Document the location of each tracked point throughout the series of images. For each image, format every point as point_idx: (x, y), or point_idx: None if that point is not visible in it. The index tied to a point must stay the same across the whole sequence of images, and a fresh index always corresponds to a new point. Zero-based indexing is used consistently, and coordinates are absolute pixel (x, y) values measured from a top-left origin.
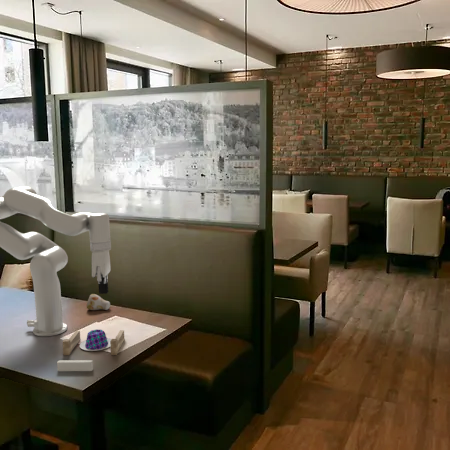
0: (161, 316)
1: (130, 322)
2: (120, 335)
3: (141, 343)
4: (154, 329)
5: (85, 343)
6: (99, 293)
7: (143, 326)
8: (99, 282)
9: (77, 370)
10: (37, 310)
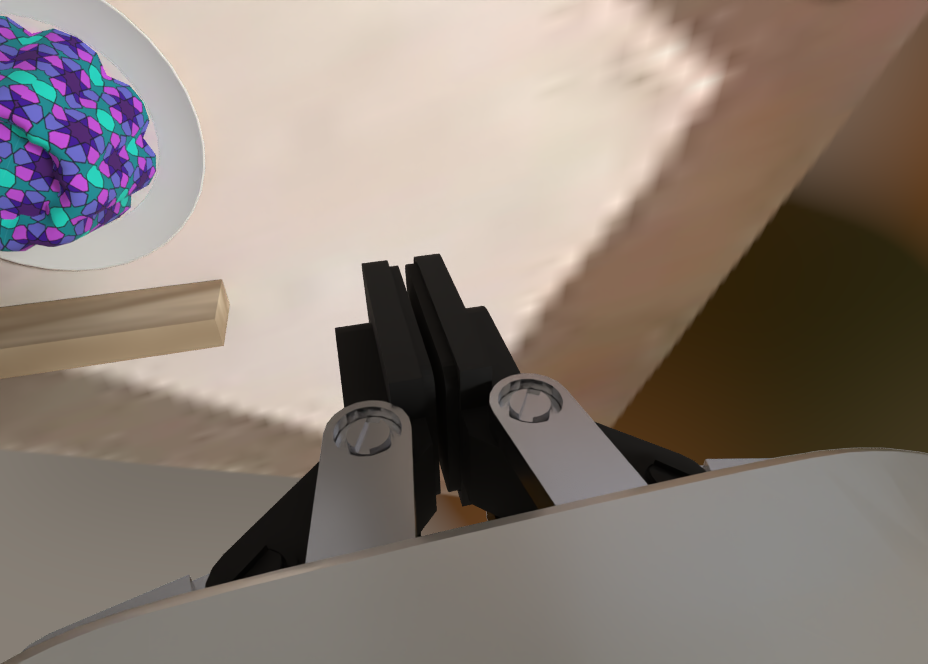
0: (625, 379)
1: (550, 241)
2: (105, 358)
3: (189, 417)
4: None
5: (18, 1)
6: (362, 266)
7: None
8: (292, 492)
9: None
10: None
